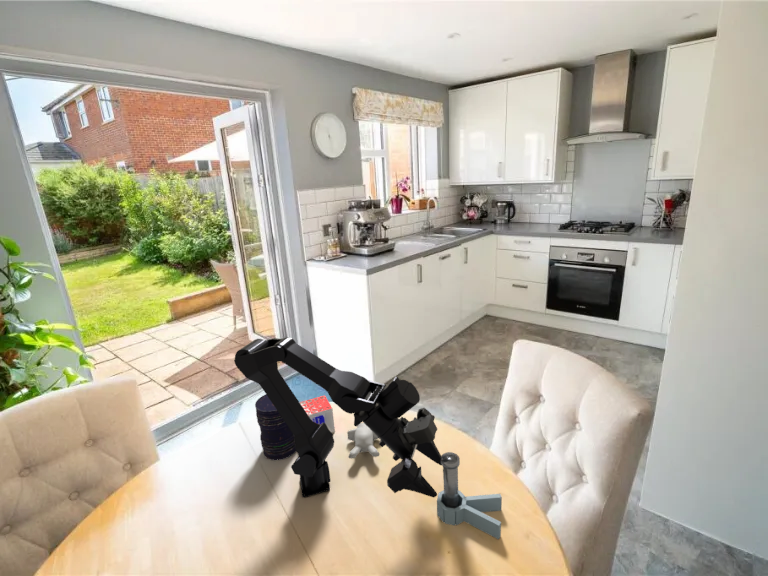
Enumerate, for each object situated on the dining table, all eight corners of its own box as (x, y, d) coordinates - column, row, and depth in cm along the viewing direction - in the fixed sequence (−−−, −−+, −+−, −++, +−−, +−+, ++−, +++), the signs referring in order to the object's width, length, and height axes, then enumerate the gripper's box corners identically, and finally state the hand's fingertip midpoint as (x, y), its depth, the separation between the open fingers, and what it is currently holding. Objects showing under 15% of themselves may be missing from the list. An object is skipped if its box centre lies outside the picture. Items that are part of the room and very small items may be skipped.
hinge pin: (443, 520, 81) (441, 465, 77) (442, 505, 85) (440, 452, 81) (461, 520, 81) (460, 465, 77) (459, 505, 84) (458, 452, 81)
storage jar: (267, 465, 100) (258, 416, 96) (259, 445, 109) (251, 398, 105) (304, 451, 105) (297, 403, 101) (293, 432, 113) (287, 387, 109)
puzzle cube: (327, 417, 119) (324, 395, 117) (335, 431, 112) (332, 408, 110) (302, 425, 116) (298, 402, 114) (308, 440, 109) (304, 416, 107)
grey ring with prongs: (434, 525, 80) (434, 512, 79) (441, 495, 87) (440, 482, 87) (500, 540, 76) (500, 526, 75) (501, 507, 83) (501, 493, 82)
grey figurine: (380, 416, 112) (381, 445, 97) (381, 432, 112) (383, 464, 98) (348, 419, 111) (344, 448, 97) (349, 435, 112) (345, 466, 97)
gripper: (400, 435, 70) (461, 496, 70) (422, 383, 87) (471, 432, 87) (362, 464, 74) (420, 521, 74) (390, 409, 91) (437, 456, 91)
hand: (439, 479), depth 81 cm, fingers open, 9 cm apart
